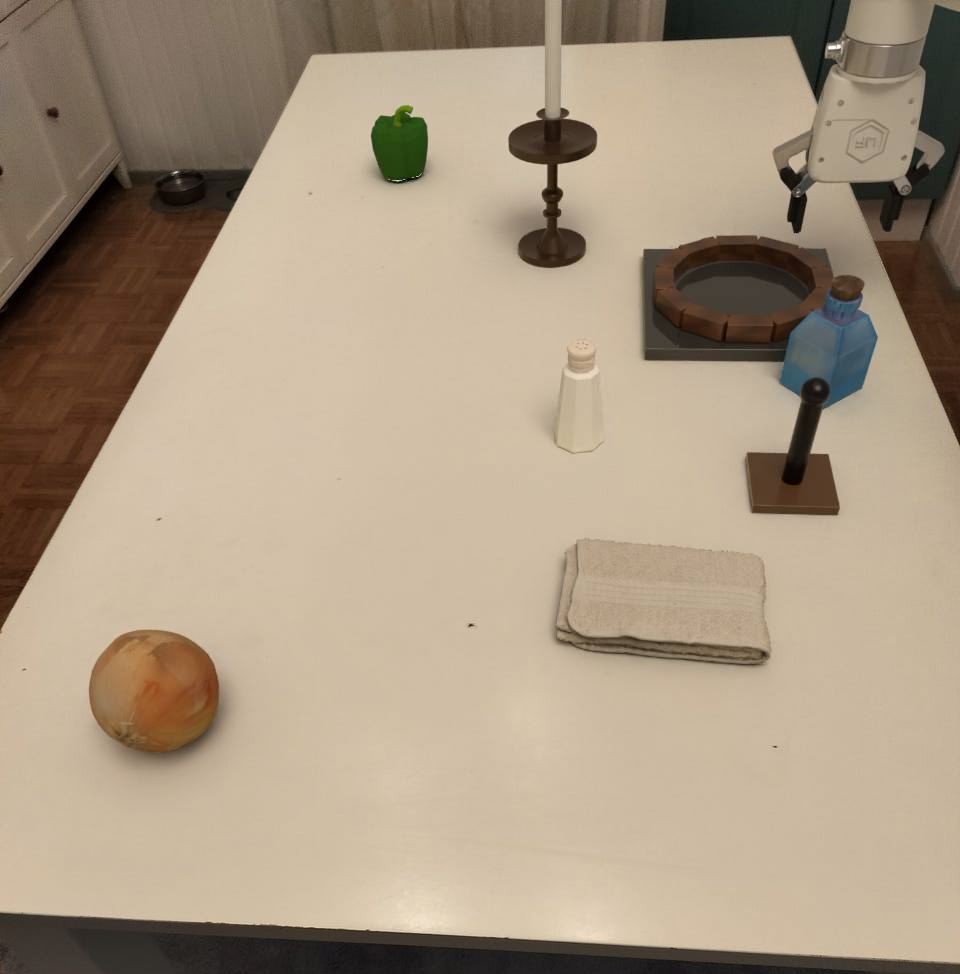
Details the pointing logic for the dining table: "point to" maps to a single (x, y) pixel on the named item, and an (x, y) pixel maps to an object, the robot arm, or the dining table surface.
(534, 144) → the candlestick
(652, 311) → the hob
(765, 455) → the post
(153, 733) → the onion
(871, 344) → the perfume bottle
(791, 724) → the dining table surface
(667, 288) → the ring
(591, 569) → the washcloth
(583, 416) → the pepper shaker
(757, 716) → the dining table surface
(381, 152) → the bell pepper
